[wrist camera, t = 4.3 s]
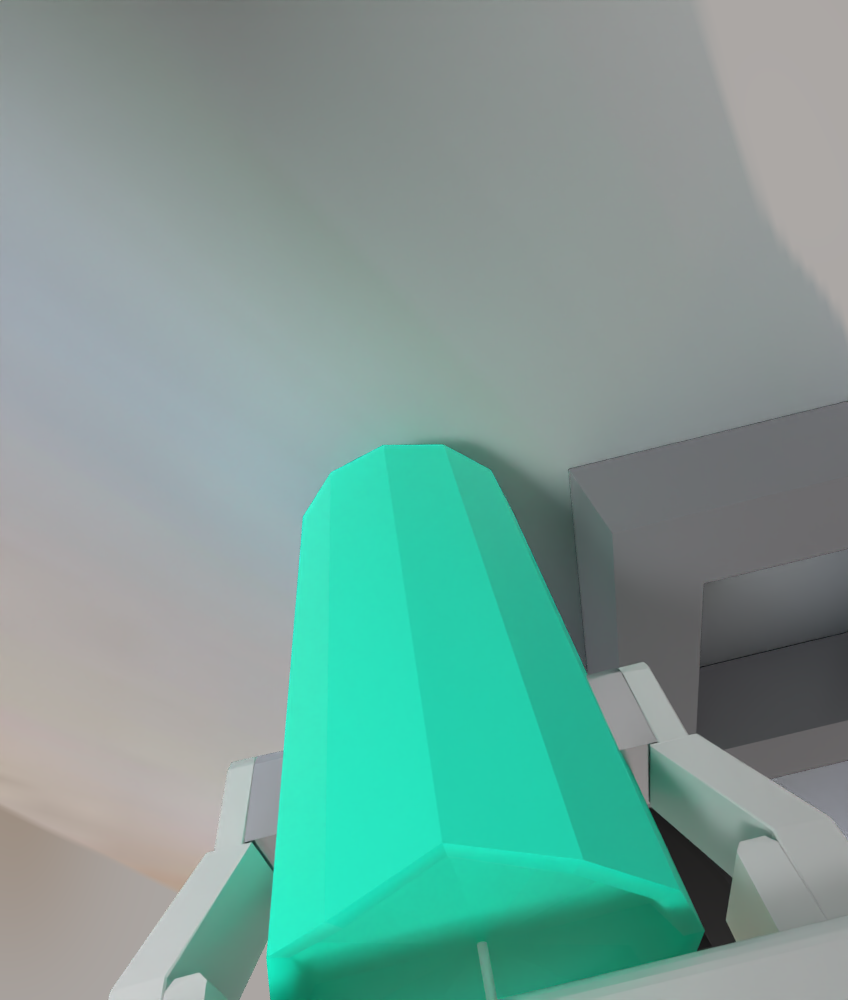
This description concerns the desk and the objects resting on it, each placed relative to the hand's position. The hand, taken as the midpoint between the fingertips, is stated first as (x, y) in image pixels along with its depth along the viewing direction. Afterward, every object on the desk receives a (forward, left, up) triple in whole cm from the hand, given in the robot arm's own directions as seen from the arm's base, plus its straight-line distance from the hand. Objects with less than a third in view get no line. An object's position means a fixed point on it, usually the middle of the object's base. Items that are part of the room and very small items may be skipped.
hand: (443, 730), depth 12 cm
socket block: (+7, +12, -8) cm, 16 cm away
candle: (0, 0, -7) cm, 7 cm away
